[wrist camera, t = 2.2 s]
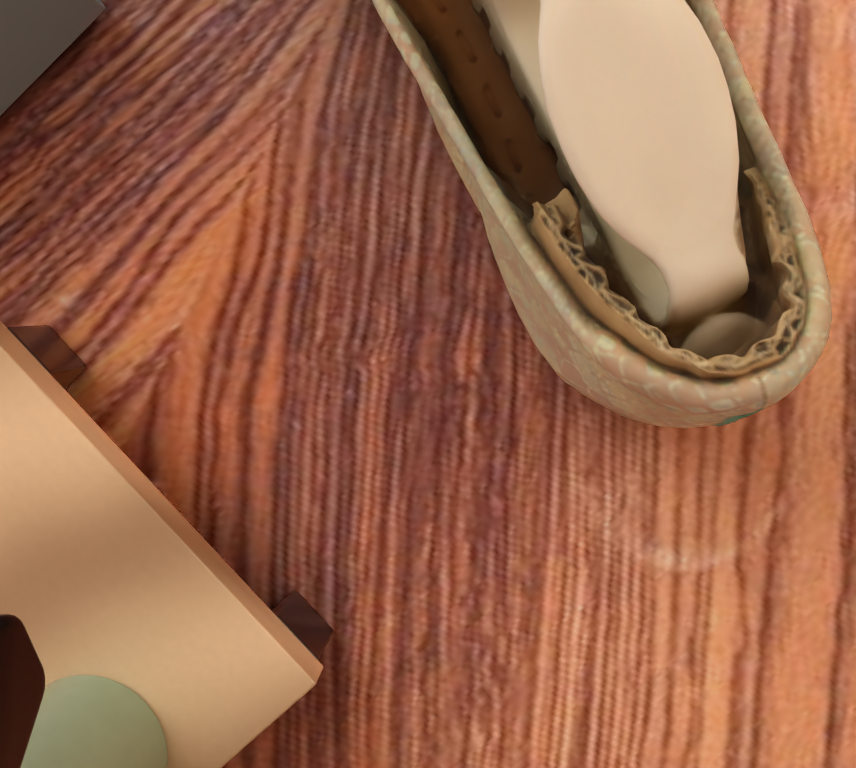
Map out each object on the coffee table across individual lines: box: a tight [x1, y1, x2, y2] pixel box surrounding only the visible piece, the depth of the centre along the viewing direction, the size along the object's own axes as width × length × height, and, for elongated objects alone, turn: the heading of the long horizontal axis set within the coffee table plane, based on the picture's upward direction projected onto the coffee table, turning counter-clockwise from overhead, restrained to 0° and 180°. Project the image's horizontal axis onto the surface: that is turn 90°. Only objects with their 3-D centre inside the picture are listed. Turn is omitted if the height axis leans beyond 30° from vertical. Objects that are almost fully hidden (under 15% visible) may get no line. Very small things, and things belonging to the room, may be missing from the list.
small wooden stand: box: [0, 322, 333, 768], centre depth 22 cm, size 12×9×3 cm
